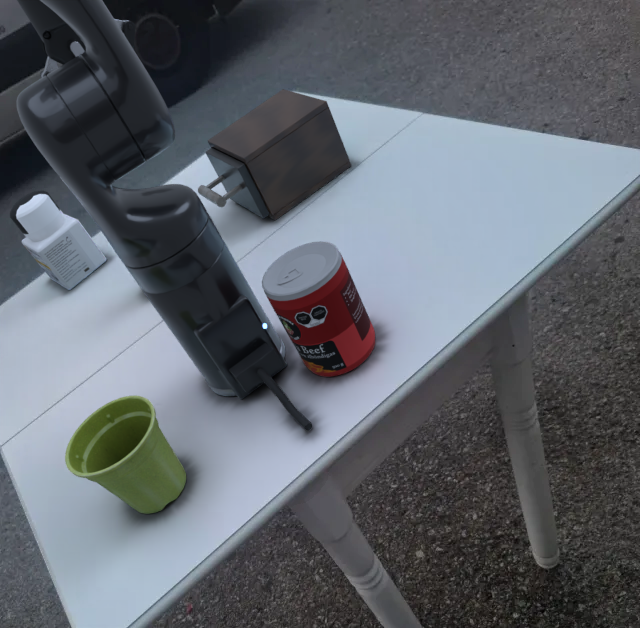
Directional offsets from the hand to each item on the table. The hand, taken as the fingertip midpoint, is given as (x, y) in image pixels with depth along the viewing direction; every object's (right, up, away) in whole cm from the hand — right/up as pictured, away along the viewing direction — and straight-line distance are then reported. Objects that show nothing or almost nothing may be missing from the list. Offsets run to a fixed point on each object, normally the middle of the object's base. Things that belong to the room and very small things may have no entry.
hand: (129, 121), depth 88 cm
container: (-14, -13, +24) cm, 31 cm away
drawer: (+16, -4, +14) cm, 22 cm away
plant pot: (+8, -44, -18) cm, 48 cm away
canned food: (+26, -30, -15) cm, 43 cm away
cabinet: (+20, -2, +15) cm, 25 cm away
